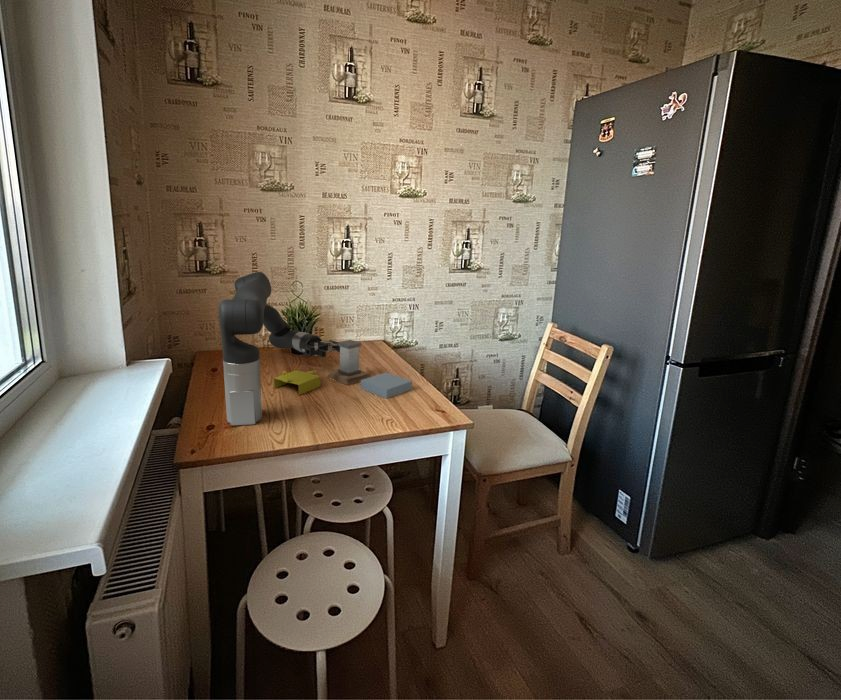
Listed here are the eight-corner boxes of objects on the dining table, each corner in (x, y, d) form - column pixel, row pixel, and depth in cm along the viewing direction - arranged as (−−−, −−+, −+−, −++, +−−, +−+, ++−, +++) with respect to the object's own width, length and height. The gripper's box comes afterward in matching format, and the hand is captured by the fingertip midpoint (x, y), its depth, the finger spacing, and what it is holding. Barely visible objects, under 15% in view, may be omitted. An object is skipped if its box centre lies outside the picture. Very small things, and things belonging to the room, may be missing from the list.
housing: (360, 373, 171) (361, 342, 168) (348, 376, 167) (348, 345, 164) (350, 369, 174) (350, 339, 171) (337, 372, 170) (337, 342, 167)
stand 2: (411, 389, 163) (412, 381, 163) (386, 398, 155) (386, 389, 154) (386, 380, 171) (386, 372, 170) (360, 388, 162) (360, 380, 161)
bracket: (334, 364, 163) (303, 375, 150) (334, 386, 165) (304, 399, 152) (298, 355, 170) (266, 366, 157) (299, 377, 172) (267, 389, 159)
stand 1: (369, 378, 172) (369, 373, 171) (347, 385, 164) (347, 379, 164) (350, 372, 178) (350, 366, 177) (328, 378, 171) (328, 372, 170)
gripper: (290, 336, 178) (318, 345, 167) (322, 330, 188) (350, 338, 178) (291, 356, 180) (318, 366, 169) (322, 349, 190) (350, 358, 180)
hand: (334, 352), depth 174 cm, fingers open, 8 cm apart
